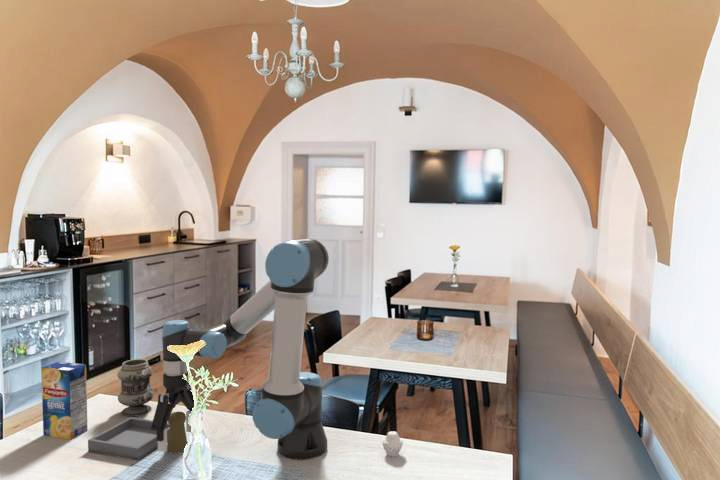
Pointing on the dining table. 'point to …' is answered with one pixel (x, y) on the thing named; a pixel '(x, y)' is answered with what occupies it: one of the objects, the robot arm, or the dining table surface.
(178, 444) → the olive pawn figure
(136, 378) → the stone urn vase
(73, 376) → the beverage box
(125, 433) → the box
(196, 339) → the robot arm
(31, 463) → the dining table surface
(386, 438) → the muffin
